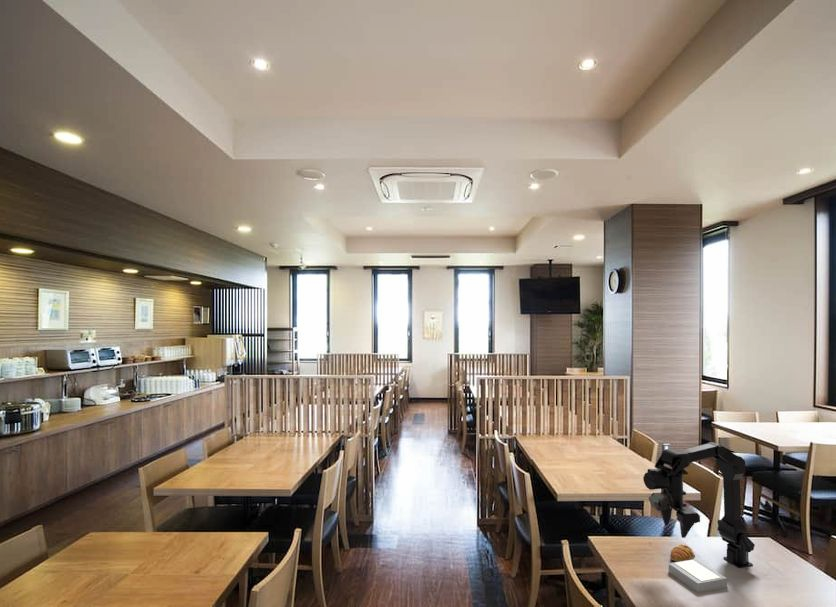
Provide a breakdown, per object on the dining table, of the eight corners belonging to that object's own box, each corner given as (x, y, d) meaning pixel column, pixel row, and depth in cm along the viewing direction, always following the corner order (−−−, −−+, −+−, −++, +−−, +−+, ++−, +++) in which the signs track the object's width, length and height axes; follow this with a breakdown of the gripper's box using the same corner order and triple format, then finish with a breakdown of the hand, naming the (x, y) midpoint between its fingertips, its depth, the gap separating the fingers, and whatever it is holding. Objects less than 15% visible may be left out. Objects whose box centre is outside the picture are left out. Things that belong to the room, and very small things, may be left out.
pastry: (684, 567, 157) (684, 557, 157) (664, 558, 163) (665, 548, 163) (696, 559, 163) (696, 548, 163) (677, 550, 168) (677, 540, 168)
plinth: (696, 567, 158) (695, 558, 158) (727, 587, 146) (726, 577, 146) (668, 572, 155) (668, 562, 155) (698, 592, 143) (697, 582, 143)
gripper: (637, 477, 165) (637, 519, 165) (669, 498, 146) (670, 545, 146) (665, 476, 166) (665, 518, 166) (700, 497, 147) (701, 544, 147)
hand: (674, 531), depth 156 cm, fingers open, 9 cm apart
